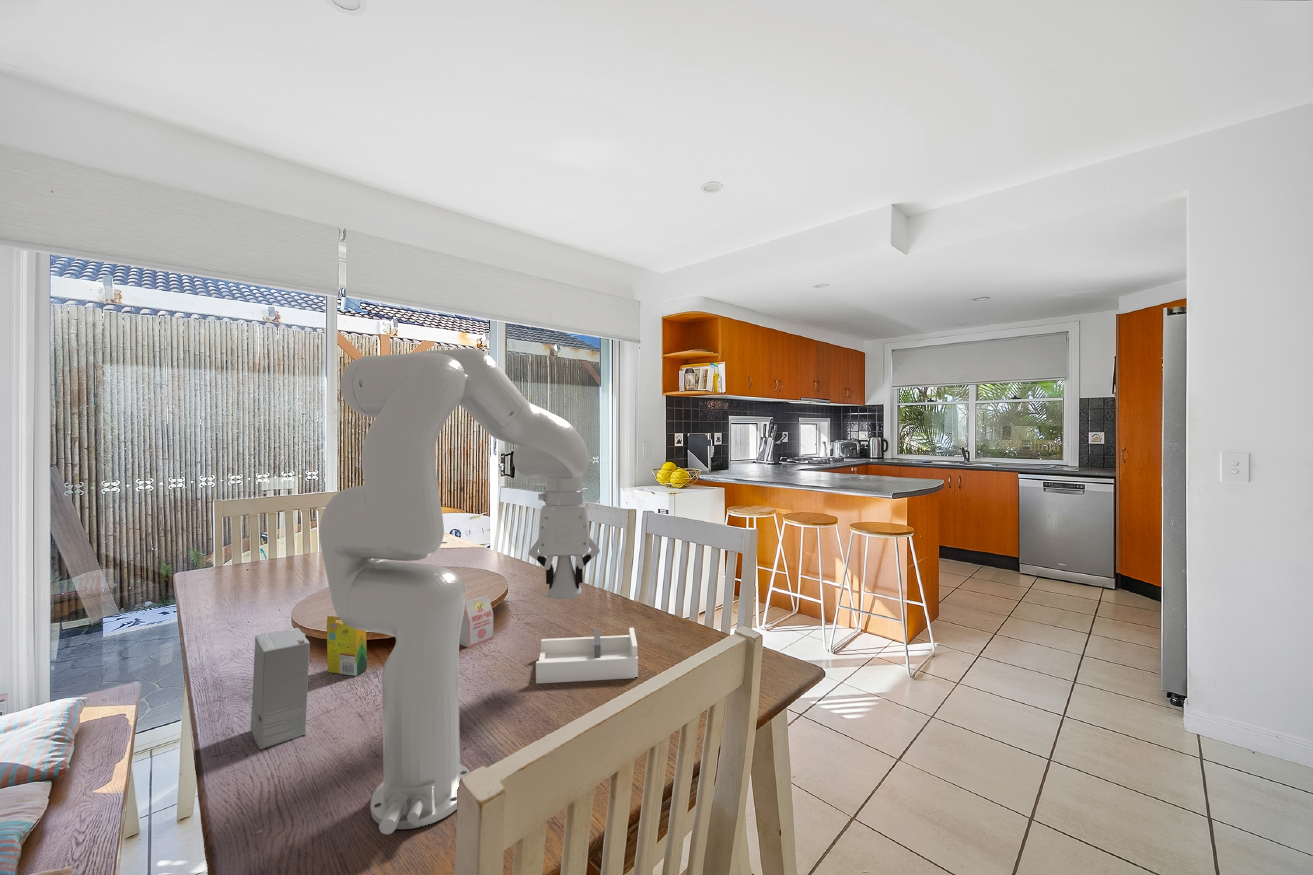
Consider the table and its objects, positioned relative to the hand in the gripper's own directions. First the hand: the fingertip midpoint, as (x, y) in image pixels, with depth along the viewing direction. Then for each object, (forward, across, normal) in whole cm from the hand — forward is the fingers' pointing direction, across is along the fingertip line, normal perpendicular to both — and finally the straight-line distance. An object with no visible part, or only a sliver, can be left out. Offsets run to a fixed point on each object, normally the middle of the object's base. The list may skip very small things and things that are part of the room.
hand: (564, 585), depth 112 cm
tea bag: (+18, -21, +17) cm, 33 cm away
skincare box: (+18, -45, -18) cm, 52 cm away
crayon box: (+18, -44, +4) cm, 48 cm away
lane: (+17, +5, 0) cm, 18 cm away
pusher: (+16, +7, 0) cm, 17 cm away
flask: (+2, 0, 0) cm, 2 cm away
